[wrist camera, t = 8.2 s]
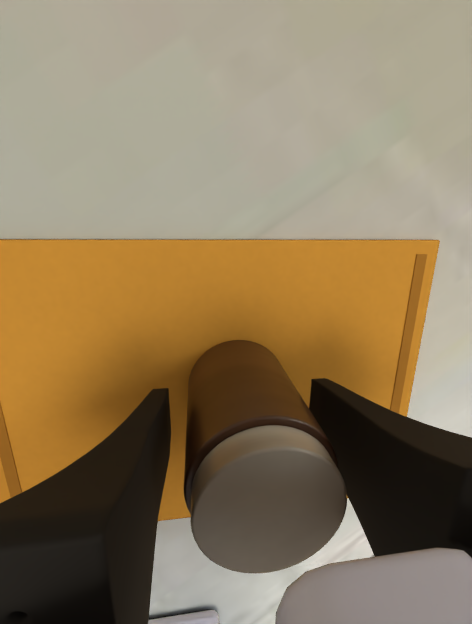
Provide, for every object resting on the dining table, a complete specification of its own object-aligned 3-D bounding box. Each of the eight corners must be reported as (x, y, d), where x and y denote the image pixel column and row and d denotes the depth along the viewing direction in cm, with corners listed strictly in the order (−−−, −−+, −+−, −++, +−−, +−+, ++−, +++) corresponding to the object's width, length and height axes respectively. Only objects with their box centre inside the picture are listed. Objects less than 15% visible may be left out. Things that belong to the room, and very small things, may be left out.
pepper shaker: (280, 421, 14) (346, 567, 8) (190, 428, 14) (186, 592, 8) (285, 337, 13) (365, 432, 7) (186, 341, 13) (177, 450, 6)
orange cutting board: (388, 487, 17) (393, 494, 17) (14, 531, 14) (8, 540, 14) (433, 239, 13) (441, 240, 13) (-63, 239, 11) (-74, 239, 10)
